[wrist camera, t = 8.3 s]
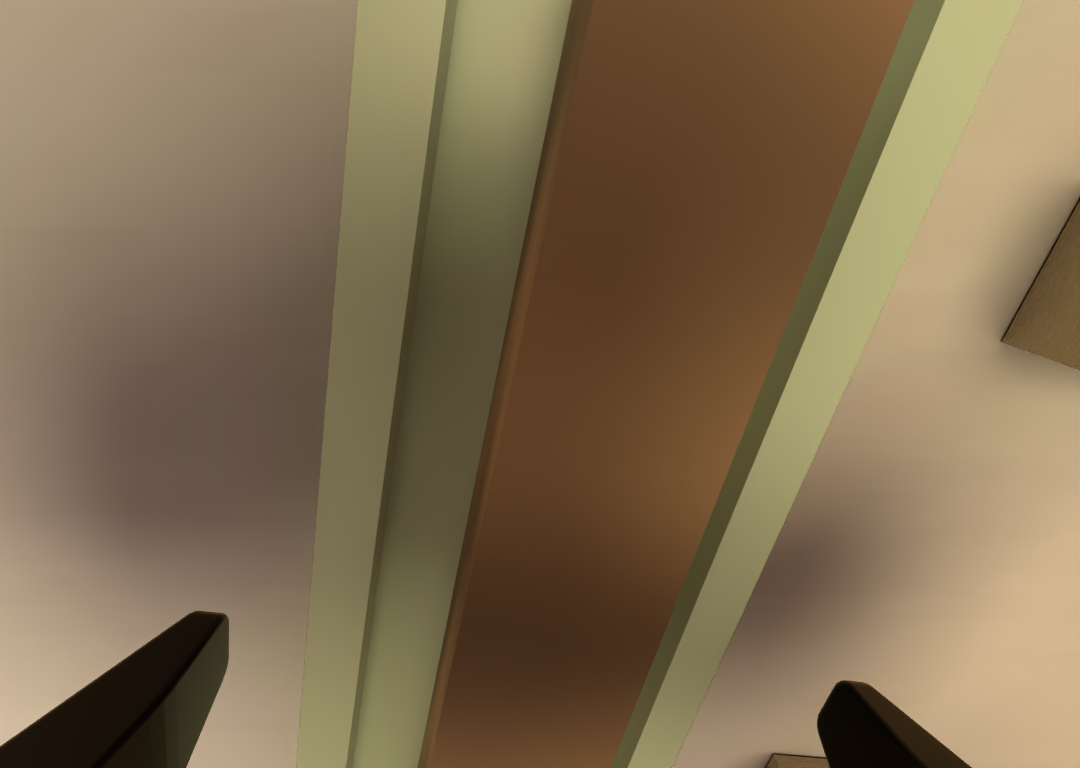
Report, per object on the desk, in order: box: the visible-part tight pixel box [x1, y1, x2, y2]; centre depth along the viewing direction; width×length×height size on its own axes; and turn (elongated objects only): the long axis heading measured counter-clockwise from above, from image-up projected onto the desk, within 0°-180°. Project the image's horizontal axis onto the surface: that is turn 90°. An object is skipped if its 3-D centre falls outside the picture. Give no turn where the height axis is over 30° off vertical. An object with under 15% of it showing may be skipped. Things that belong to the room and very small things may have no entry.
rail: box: [418, 0, 915, 768], centre depth 10 cm, size 18×3×3 cm, turn 168°
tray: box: [296, 0, 1023, 768], centre depth 11 cm, size 23×8×2 cm, turn 168°
